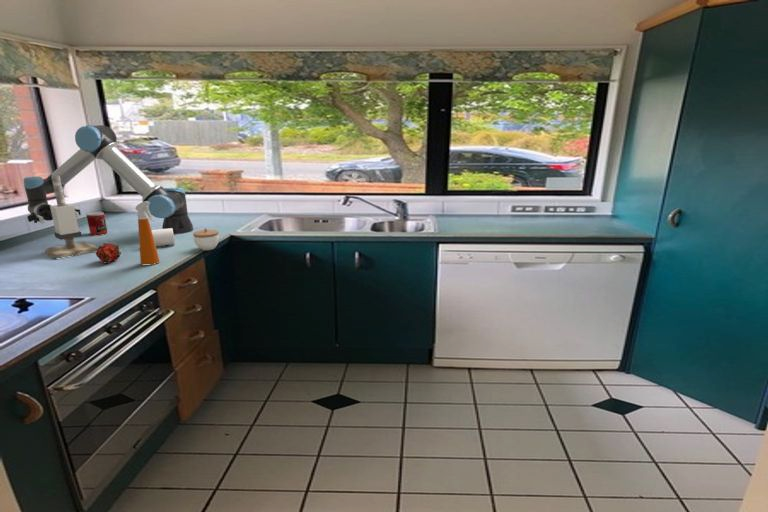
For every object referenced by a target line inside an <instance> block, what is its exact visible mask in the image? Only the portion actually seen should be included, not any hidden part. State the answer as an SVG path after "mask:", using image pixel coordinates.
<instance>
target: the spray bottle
mask: <svg viewBox="0 0 768 512" xmlns="http://www.w3.org/2000/svg"><path fill="white" fill-rule="evenodd" d="M149 204H150V203H149V202H148V201H144V202H143V201H142V202H140V203H138V204H137V205H136V207H135V210H136V211H137V221H138V222H137V223H138V225H137V226H138V243H139V259H140V265H141V264H154V263H157V262H159V261H160V257H159V254H158V250H157V247H156V246H155V242H154V238H153V235H152V231H151V230H152V227H151V224H150V220H151V222H154V221H155V220H154V216H153V215H151V213H150V211H149ZM149 219H150V220H149ZM159 263H160V262H159Z"/></svg>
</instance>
